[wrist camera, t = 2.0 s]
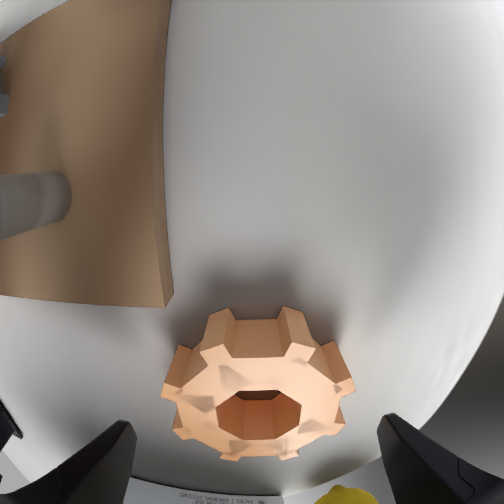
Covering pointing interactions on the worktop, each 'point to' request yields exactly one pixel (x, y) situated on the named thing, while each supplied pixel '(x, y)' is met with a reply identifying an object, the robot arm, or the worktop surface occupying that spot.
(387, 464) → the robot arm
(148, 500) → the tea box
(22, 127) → the gear board
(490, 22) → the worktop surface
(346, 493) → the lemon
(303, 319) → the gear
